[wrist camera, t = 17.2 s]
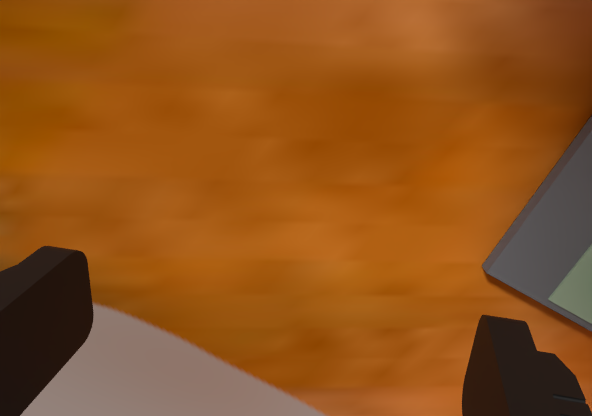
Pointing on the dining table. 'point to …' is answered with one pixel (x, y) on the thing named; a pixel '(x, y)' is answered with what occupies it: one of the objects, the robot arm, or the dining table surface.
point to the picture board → (554, 238)
